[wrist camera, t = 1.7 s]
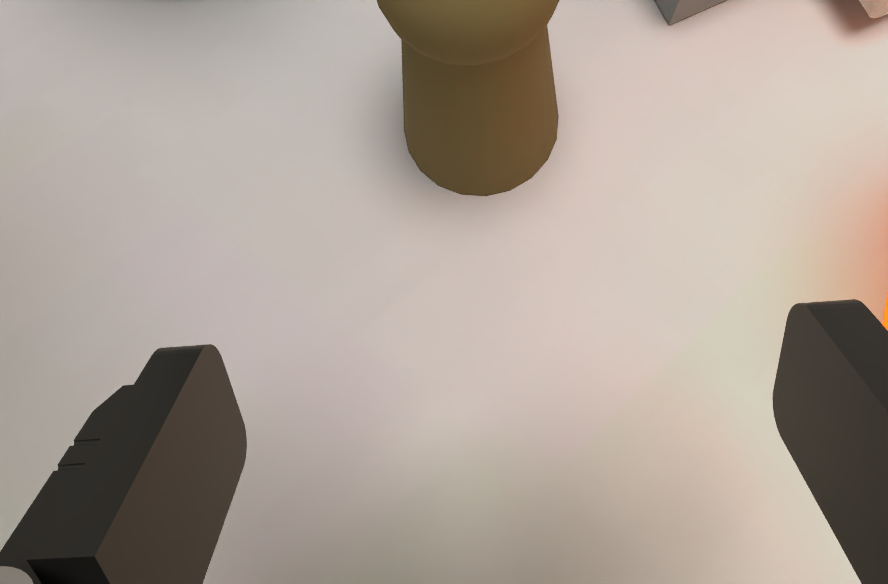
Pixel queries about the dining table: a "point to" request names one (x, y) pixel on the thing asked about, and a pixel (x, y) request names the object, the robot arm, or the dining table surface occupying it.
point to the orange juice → (886, 315)
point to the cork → (476, 89)
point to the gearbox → (681, 3)
